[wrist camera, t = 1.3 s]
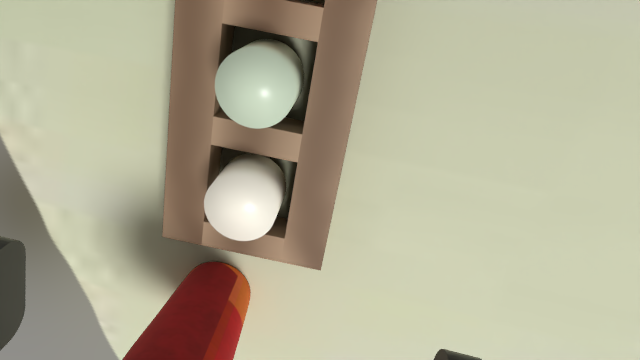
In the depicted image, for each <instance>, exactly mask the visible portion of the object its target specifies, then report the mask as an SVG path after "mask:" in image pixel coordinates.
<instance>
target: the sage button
mask: <svg viewBox="0 0 640 360" xmlns="http://www.w3.org/2000/svg"><path fill="white" fill-rule="evenodd" d="M303 85H304V70H303V66H302V63H301V61H300V59H299V57H298V56H297V54H296V53H295V52H294V51H293V50H292V49H291V48H290V47H289V46H287V45H286V44H284V43H282V42H280V41H277V40H273V39H260V40H256V41H254V42H251V43H249V44H248V45H246V46H244V47H242V48H240V49H238V50H237V51H235V52H233V53H231V54H230V55H229V56H228V57H226V58H225V59H224V61H223V62H222V63H221V65H220V66H219V68H218V71H217V74H216V78H215V93H216V97H217V100H218V102H219V104H220V106H221V108H222V109H223V111H224V112H225V113H226V114H227V116H229V117H230V118H231V119H232V120H233V121H235V122H236V123H238V124H240V125H242V126H245V127H249V128H255V129H261V128H267V127H270V126H273V125H275V124H277V123H279V122H280V121H281V120H282V119H283V118H284V117H285V116H286V115H287V114H288V113H289V111H290V110H291V108H292V106H293V105H294V103H295V102H296V100H297V99H298V97H299V95H300V94H301V91H302V89H303Z"/></svg>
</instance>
